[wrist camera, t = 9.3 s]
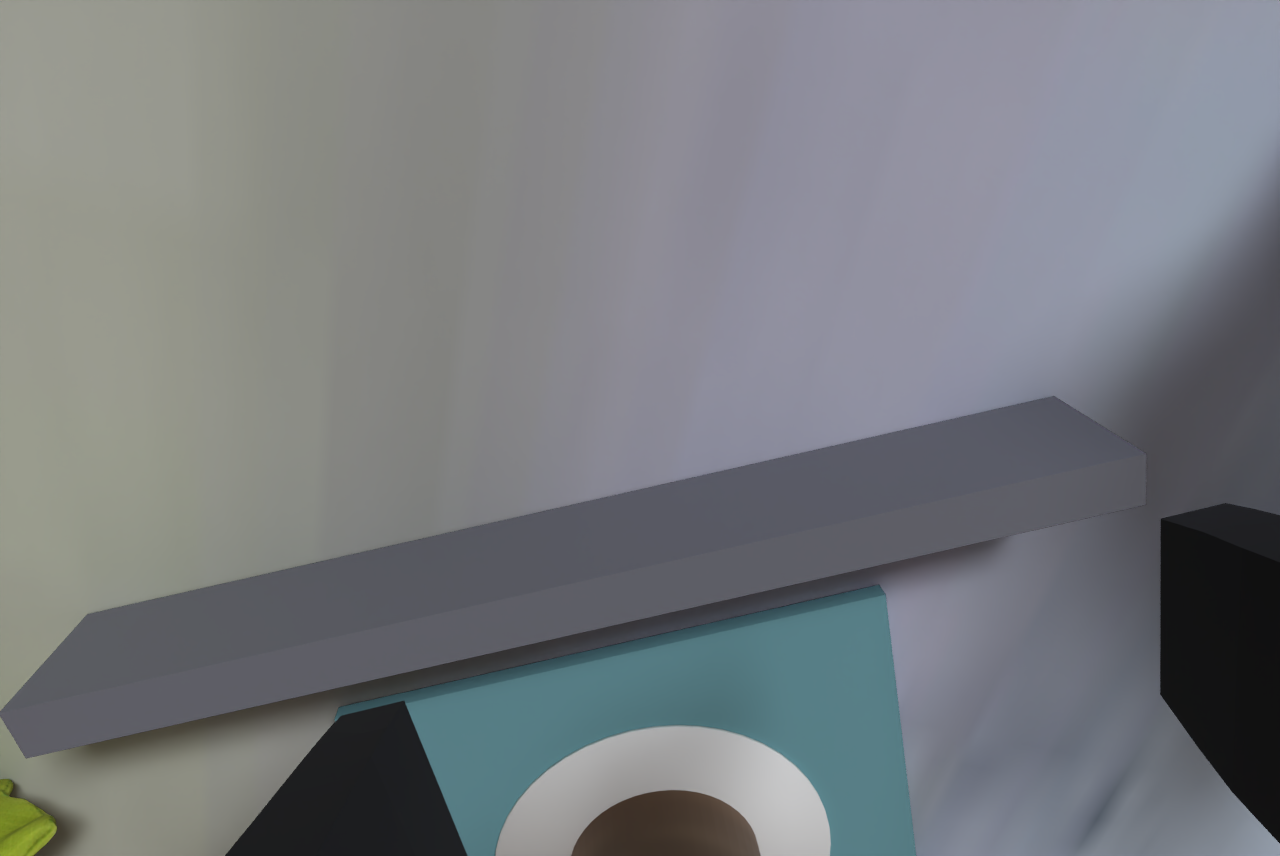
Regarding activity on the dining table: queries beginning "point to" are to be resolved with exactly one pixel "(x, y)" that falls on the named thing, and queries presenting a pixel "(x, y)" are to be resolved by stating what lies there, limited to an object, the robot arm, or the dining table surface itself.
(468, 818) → the mat
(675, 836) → the walnut cylinder
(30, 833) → the bird rattle
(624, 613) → the low wall
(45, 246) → the dining table surface
